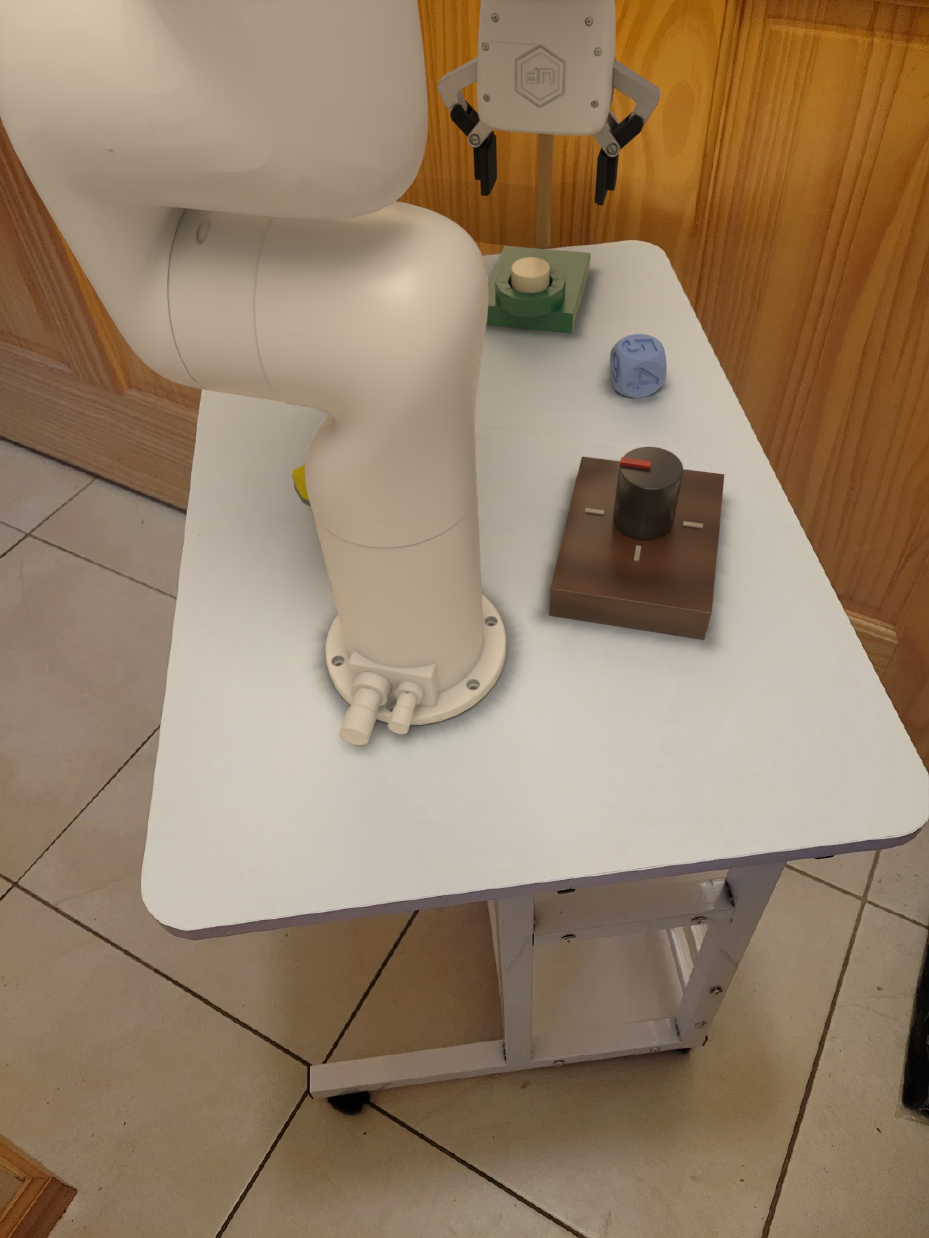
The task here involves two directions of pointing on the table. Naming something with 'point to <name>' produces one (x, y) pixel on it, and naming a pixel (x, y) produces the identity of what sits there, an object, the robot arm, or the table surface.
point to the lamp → (544, 190)
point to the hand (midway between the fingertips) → (544, 192)
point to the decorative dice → (638, 365)
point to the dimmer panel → (638, 558)
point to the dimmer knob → (647, 492)
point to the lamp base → (541, 308)
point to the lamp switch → (530, 275)
